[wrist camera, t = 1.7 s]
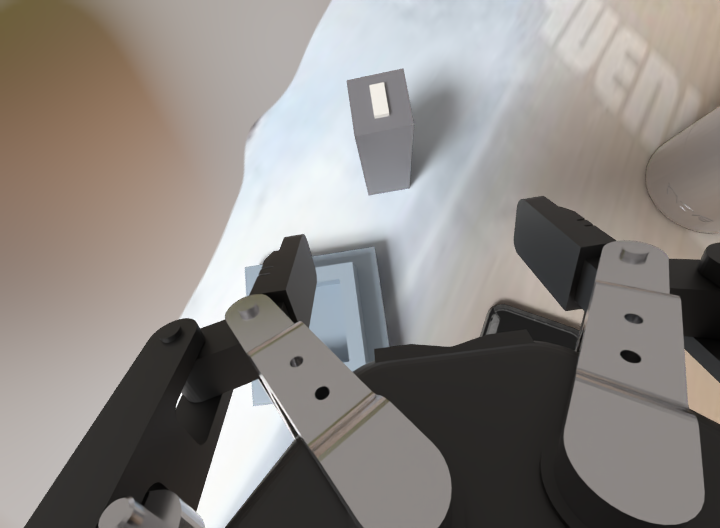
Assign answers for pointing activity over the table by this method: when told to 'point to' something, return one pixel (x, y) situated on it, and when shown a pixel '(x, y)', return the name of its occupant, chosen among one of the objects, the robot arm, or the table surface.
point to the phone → (529, 326)
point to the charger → (383, 129)
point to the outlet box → (342, 308)
